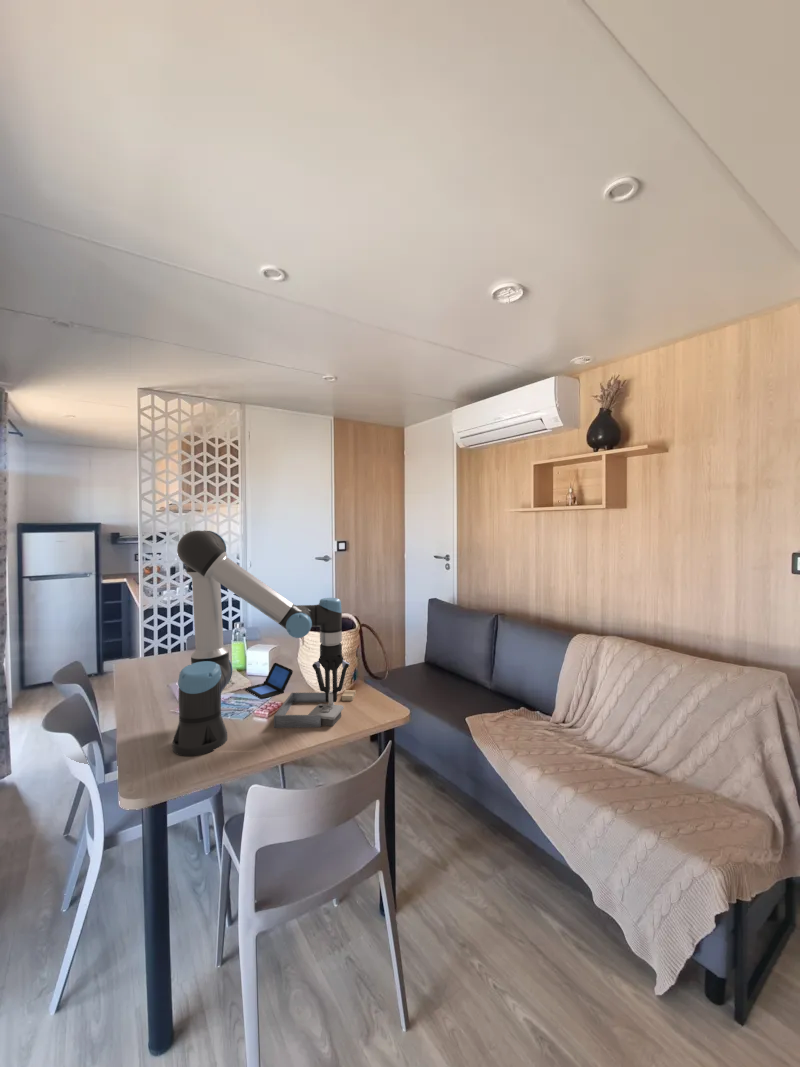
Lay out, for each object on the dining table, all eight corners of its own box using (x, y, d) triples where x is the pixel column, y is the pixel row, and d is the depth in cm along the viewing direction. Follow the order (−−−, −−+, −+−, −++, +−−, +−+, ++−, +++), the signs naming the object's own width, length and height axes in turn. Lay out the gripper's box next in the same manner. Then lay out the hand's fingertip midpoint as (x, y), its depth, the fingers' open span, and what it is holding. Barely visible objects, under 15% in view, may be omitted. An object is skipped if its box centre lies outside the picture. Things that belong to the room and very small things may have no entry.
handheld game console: (244, 691, 182) (244, 668, 182) (274, 683, 191) (274, 661, 191) (262, 701, 170) (262, 677, 170) (294, 692, 180) (293, 669, 180)
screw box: (352, 704, 167) (352, 695, 167) (342, 703, 167) (341, 695, 167) (355, 698, 173) (355, 690, 173) (345, 697, 173) (345, 690, 173)
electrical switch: (318, 703, 156) (342, 700, 154) (321, 718, 156) (346, 715, 154) (306, 715, 147) (332, 712, 145) (309, 730, 147) (335, 727, 145)
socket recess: (320, 728, 146) (320, 715, 146) (273, 728, 146) (273, 715, 146) (332, 703, 167) (332, 692, 167) (291, 703, 168) (291, 692, 168)
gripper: (351, 640, 160) (351, 706, 160) (314, 640, 160) (315, 706, 161) (348, 645, 153) (348, 715, 153) (309, 645, 153) (310, 715, 153)
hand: (331, 710), depth 157 cm, fingers closed
